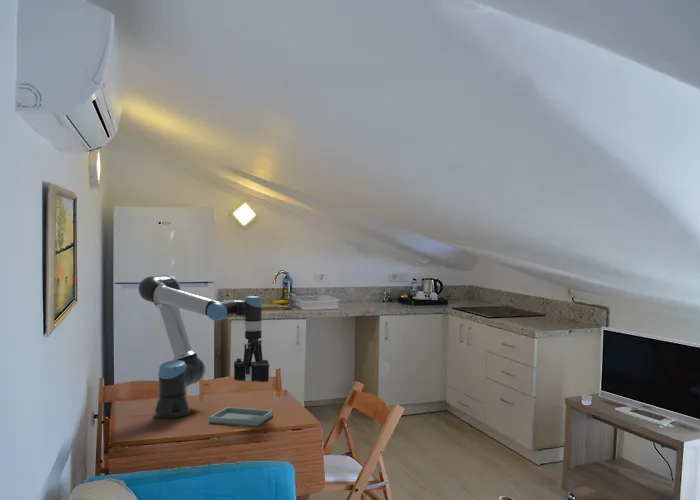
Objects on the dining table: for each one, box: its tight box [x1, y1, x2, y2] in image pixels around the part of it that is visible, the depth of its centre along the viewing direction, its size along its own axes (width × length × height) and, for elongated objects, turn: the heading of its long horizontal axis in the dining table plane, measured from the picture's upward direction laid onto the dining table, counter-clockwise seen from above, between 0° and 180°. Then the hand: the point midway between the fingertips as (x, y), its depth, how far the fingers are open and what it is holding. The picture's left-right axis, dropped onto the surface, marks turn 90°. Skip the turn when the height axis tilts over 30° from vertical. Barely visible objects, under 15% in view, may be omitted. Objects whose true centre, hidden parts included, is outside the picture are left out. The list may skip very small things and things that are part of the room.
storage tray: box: [208, 406, 274, 428], centre depth 259 cm, size 23×17×2 cm
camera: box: [233, 357, 271, 383], centre depth 271 cm, size 18×9×10 cm, turn 76°
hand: (253, 378), depth 271 cm, fingers closed on camera, 9 cm apart
